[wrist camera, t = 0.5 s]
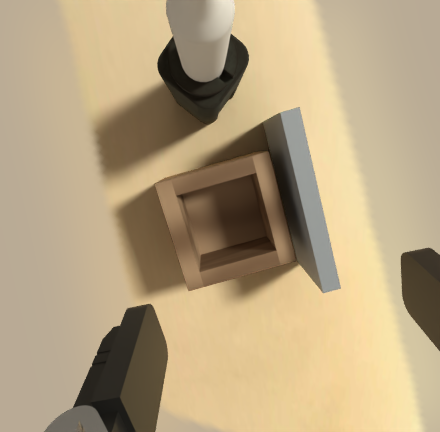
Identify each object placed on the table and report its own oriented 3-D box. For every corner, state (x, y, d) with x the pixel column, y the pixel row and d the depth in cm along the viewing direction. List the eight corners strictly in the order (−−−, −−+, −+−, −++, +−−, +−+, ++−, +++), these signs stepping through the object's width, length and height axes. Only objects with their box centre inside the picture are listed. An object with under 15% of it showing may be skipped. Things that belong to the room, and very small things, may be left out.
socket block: (164, 178, 37) (154, 184, 30) (257, 151, 37) (268, 151, 30) (192, 266, 39) (188, 291, 32) (280, 241, 39) (296, 261, 32)
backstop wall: (262, 122, 36) (280, 112, 28) (277, 117, 36) (299, 107, 28) (297, 261, 39) (323, 293, 31) (310, 257, 39) (340, 288, 31)
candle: (209, 128, 36) (214, 80, 12) (170, 97, 36) (87, -21, 11) (239, 88, 36) (308, -52, 11) (199, 55, 35) (180, -168, 10)
